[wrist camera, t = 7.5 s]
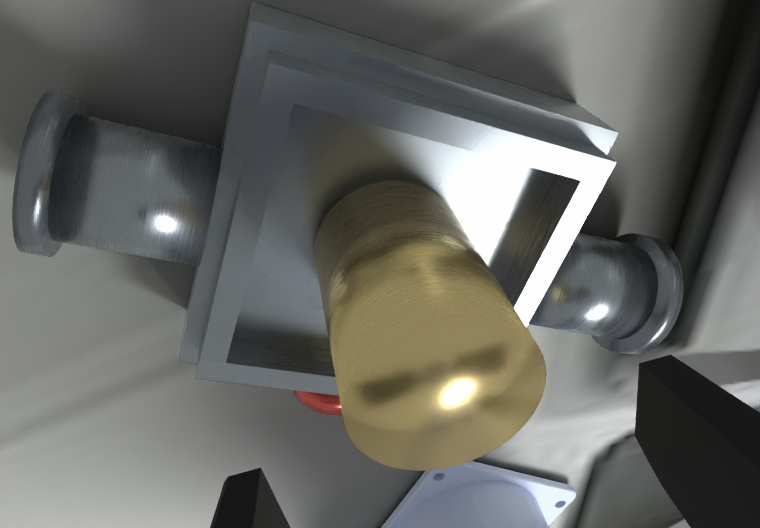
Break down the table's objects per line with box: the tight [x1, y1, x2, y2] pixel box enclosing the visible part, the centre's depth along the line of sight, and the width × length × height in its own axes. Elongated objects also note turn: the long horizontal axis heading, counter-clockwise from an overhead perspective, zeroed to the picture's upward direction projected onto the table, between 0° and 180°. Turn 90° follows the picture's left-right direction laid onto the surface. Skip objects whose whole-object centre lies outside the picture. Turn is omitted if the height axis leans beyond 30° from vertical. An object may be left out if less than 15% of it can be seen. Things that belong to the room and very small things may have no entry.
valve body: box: [12, 1, 684, 415], centre depth 18 cm, size 18×11×4 cm, turn 71°
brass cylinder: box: [314, 180, 546, 471], centre depth 15 cm, size 4×4×6 cm
